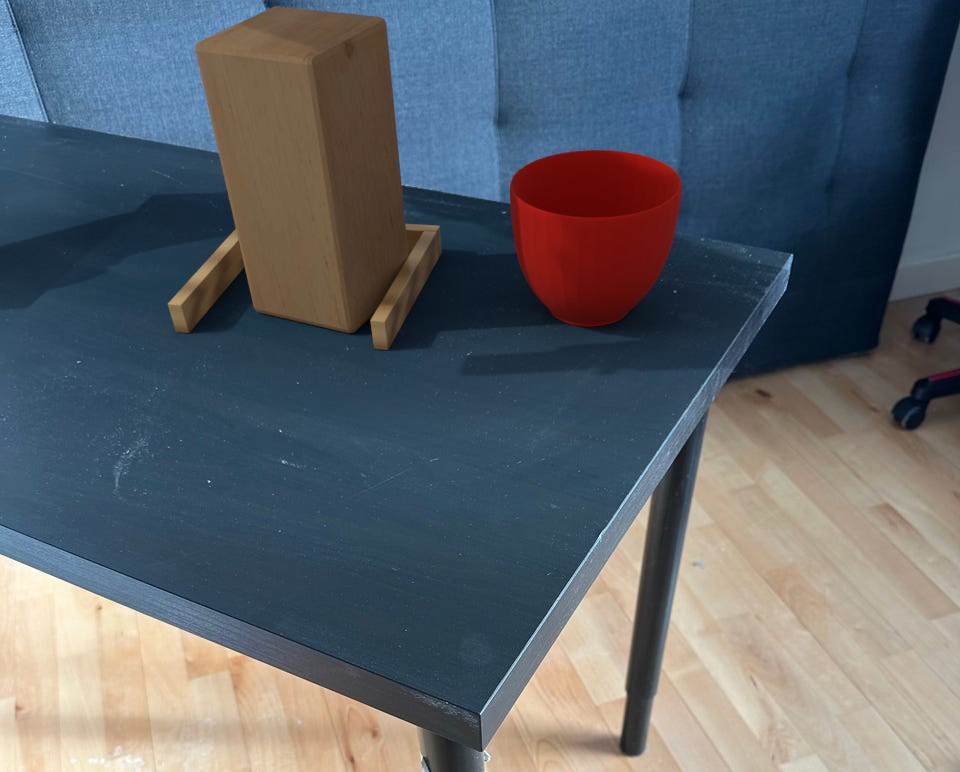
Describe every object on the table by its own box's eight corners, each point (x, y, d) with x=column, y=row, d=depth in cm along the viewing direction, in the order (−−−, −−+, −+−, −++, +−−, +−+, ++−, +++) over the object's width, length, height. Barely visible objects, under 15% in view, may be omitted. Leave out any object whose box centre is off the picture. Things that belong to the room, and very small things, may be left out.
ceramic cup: (609, 241, 86) (617, 123, 78) (696, 328, 75) (714, 200, 67) (475, 267, 83) (470, 148, 76) (544, 361, 72) (546, 231, 65)
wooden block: (413, 282, 82) (388, 15, 67) (353, 336, 76) (311, 56, 61) (317, 262, 85) (273, 3, 70) (252, 313, 79) (190, 42, 64)
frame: (388, 350, 74) (384, 321, 72) (175, 332, 77) (167, 303, 75) (441, 252, 85) (440, 225, 84) (254, 240, 89) (248, 213, 87)
